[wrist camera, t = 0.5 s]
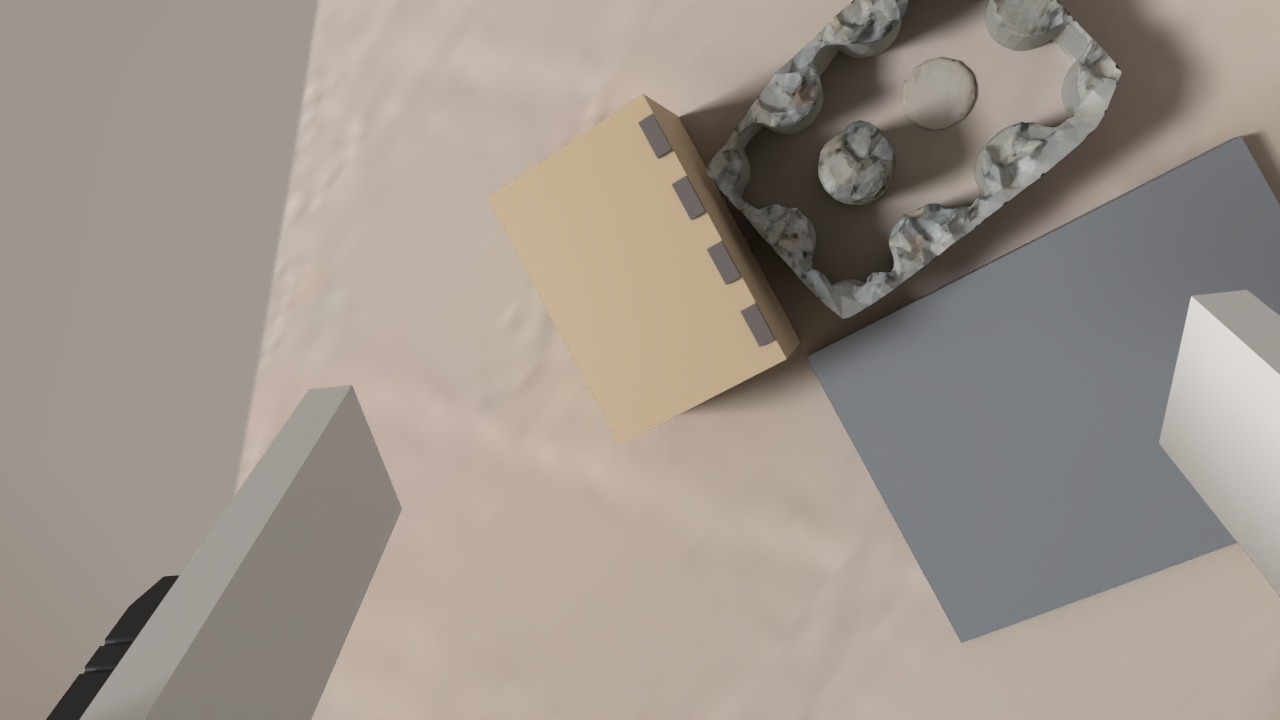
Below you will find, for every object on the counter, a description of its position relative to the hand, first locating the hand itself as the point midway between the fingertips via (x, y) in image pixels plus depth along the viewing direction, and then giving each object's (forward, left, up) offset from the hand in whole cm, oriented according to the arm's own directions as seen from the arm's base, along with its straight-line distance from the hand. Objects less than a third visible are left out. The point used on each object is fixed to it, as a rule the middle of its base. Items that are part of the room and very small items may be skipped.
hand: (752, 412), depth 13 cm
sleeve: (+4, +4, -16) cm, 17 cm away
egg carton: (+4, -5, -16) cm, 18 cm away
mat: (-6, -6, -16) cm, 18 cm away
